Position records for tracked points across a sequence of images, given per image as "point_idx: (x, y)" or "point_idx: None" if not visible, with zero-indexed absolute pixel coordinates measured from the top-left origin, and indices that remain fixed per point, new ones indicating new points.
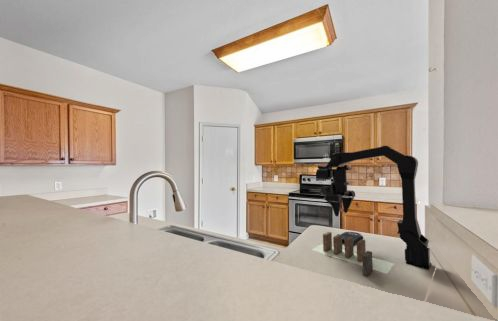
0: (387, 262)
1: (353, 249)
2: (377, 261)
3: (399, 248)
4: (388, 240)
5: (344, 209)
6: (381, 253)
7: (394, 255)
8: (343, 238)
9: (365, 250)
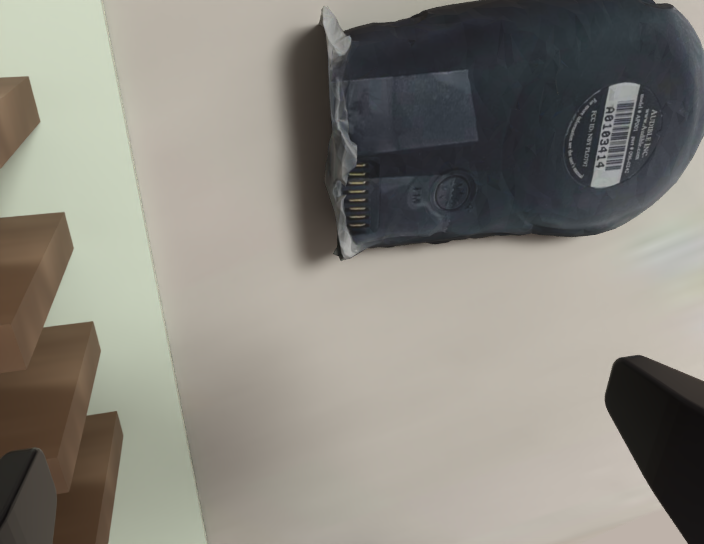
0: (187, 531)
1: (92, 385)
2: (141, 499)
3: (540, 454)
4: (685, 350)
5: (674, 420)
6: (350, 434)
7: (376, 488)
8: (336, 159)
9: (113, 491)
